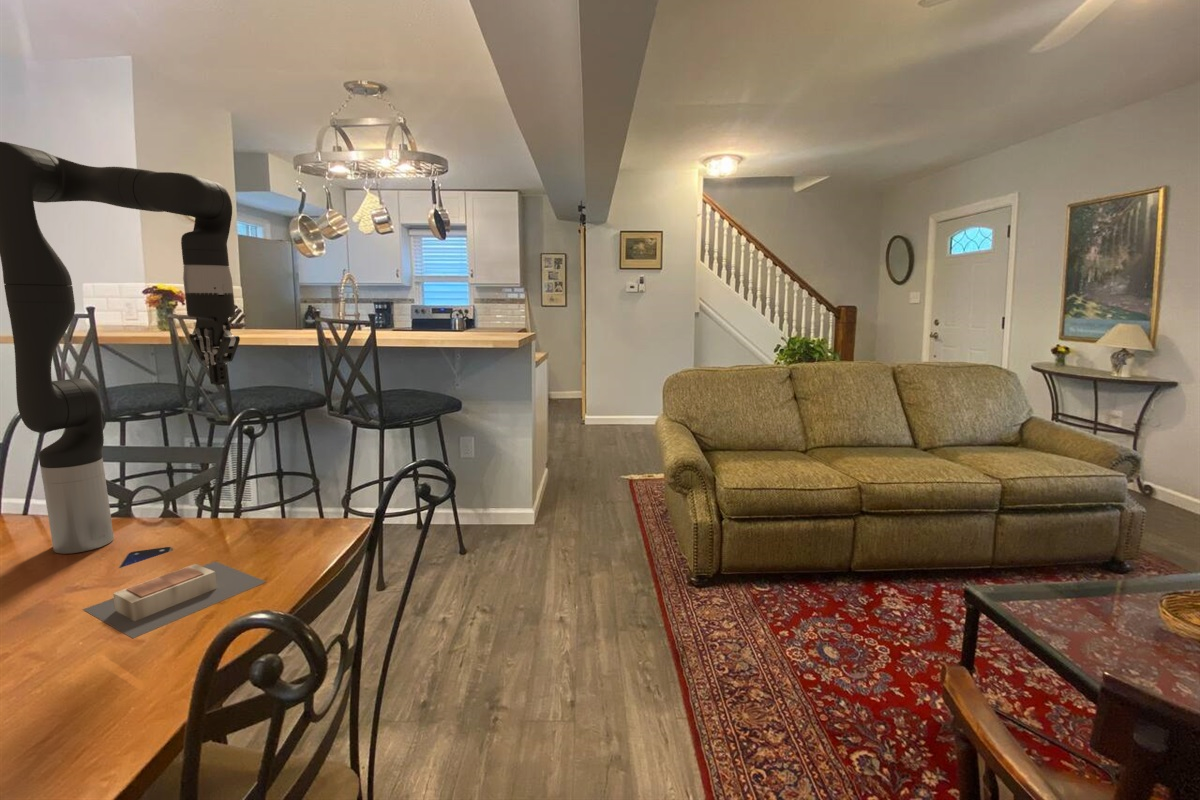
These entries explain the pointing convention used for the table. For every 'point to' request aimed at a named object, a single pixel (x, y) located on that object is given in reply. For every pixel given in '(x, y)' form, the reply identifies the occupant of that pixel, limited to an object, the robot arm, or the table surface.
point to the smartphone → (144, 555)
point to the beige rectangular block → (164, 591)
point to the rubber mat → (227, 587)
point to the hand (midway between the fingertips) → (218, 384)
